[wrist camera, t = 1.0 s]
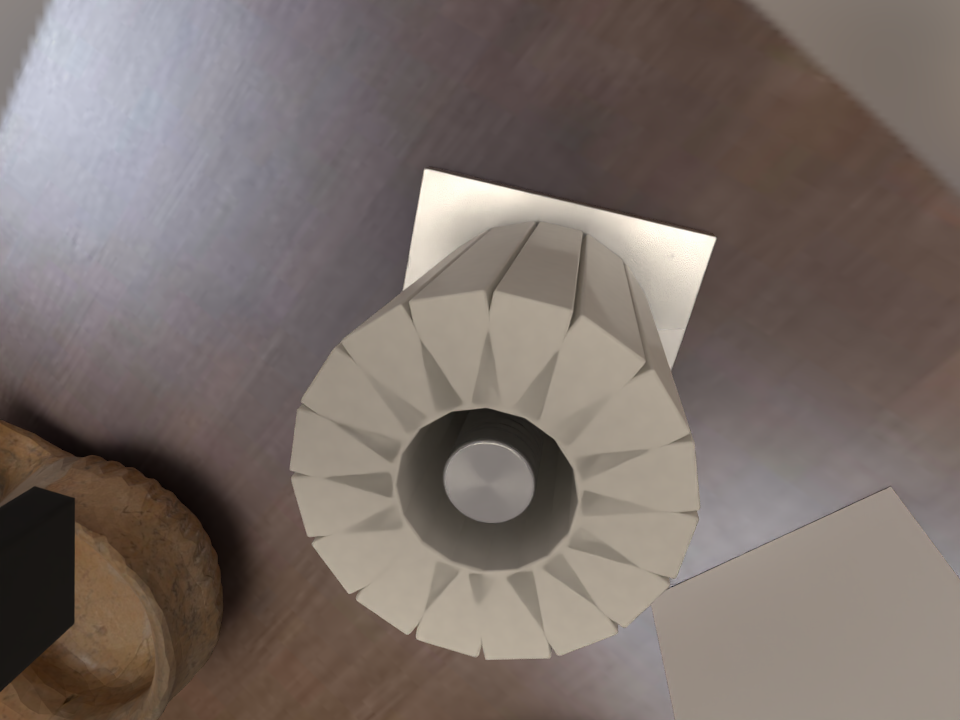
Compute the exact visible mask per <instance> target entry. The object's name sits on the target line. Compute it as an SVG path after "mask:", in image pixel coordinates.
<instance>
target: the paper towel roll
mask: <svg viewBox="0 0 960 720" xmlns="http://www.w3.org/2000/svg"><path fill="white" fill-rule="evenodd" d="M582 236H583V232H582V231H579V230H575V229H571V228H566V227H562V226H558V225H554V224H550V223H546V222H542V221H541V222H540V223H539V224H538V226H537V227H536V223H535V222H534V221H532V222H525V223H519V224H513V225H507V226H501V227H495V228H492V229H491V230H490V231H488V230H486V231H485V232H483V233H481V234H480V235H478V236H477V237H475V238H474V239H472V240H470V241H469V242H467V243H466V244H464V245H463V246H461V247H459V248H458V249H456V250H455V251H453V252H452V253H451V254H449V255H448V256H447V257H445V258H444V259H443V260H442V261H440V262H439V263H438V264H437V265H435V266H434V267H433V268H432V269H430V270H429V271H428V272H427V273H425V274H424V275H423V276H422V277H420V278H419V279H418V280H417V281H415V282H414V283H413V284H411V285H410V286H409V287H408V288H406V289H405V290H404V291H403V292H401V293H400V294H399V295H398V296H396V297H395V298H394V299H393V300H391V301H390V302H389V303H388V304H386V305H385V306H384V307H382V308H381V309H380V310H379V311H377V312H376V313H375V314H374V315H372V316H371V317H370V318H369V319H367V320H366V321H365V322H364V323H362V324H361V325H360V326H359V327H357V328H356V329H355V330H354V331H352V332H351V333H350V334H348V335H347V336H346V337H345V338H343V339H342V340H341V343H339V344H338V345H337V346H336V347H334V349H333V350H332V352H331V353H330V355H329V356H328V358H327V360H326V361H325V363H324V364H323V366H322V367H321V369H320V370H319V372H318V374H317V375H316V377H315V378H314V380H313V381H312V383H311V385H310V386H309V388H308V389H307V391H306V392H305V394H304V395H303V397H302V399H301V402H302V403H303V404H302V405H301V406H300V407H299V408H298V409H297V415H296V423H295V431H294V439H293V447H292V454H291V462H290V470H291V471H294V472H295V473H294V474H293V476H292V477H291V482H292V485H293V488H294V492H295V495H296V499H297V502H298V506H299V509H300V512H301V516H302V519H303V523H304V526H305V530H306V533H307V536H308V537H316V538H315V539H314V541H313V542H312V546H313V547H314V549H315V550H316V551H317V553H318V554H319V555H320V557H321V558H322V559H323V560H324V562H325V563H326V564H327V566H328V567H329V568H330V570H331V571H332V572H333V574H334V575H335V576H336V578H337V579H338V580H339V582H340V583H341V584H342V586H343V587H344V588H345V590H346V591H347V592H348V593H349V594H351V593H353V592H355V591H357V590H359V589H360V590H359V592H358V594H357V596H356V600H357V601H358V602H359V603H361V604H362V605H364V606H365V607H367V608H368V609H370V610H371V611H373V612H374V613H376V614H377V615H378V616H380V617H381V618H383V619H384V620H386V621H387V622H389V623H390V624H392V625H393V626H394V627H396V628H397V629H399V630H400V631H402V632H403V633H405V634H407V635H408V634H410V633H411V632H412V631H413V630H414V629H415V627H416V626H417V625H418V627H417V631H416V639H417V640H420V641H423V642H426V643H430V644H433V645H436V646H440V647H443V648H446V649H449V650H453V651H456V652H459V653H463V654H466V655H469V656H473V657H477V656H478V655H479V654H480V650H481V646H482V647H483V652H484V656H485V659H486V660H497V659H541V658H551V652H552V648H553V650H554V651H555V652H556V654H557V655H558V656H561V655H564V654H566V653H569V652H571V651H574V650H577V649H579V648H582V647H585V646H587V645H590V644H592V643H595V642H598V641H600V640H603V639H605V638H608V637H611V636H613V635H616V634H617V633H618V624H619V625H620V626H622V627H623V628H626V627H627V626H628V625H629V624H630V623H631V622H633V621H634V620H635V619H636V618H637V617H638V616H639V615H640V614H641V613H642V612H643V611H644V610H645V609H646V608H647V607H648V606H649V605H650V604H652V603H653V602H654V601H655V600H656V599H657V598H658V597H659V596H660V595H661V594H662V593H663V592H664V591H665V590H666V589H667V588H668V587H669V586H670V580H669V578H673V579H675V578H676V577H677V575H678V572H679V569H680V567H681V564H682V562H683V559H684V557H685V554H686V551H687V549H688V546H689V544H690V541H691V539H692V536H693V533H694V531H695V528H696V526H697V523H698V521H699V517H698V514H697V511H698V510H699V509H700V497H699V486H698V475H697V464H696V453H695V443H694V440H693V437H692V434H691V431H690V428H689V425H688V422H687V419H686V416H685V413H684V410H683V407H682V404H681V401H680V398H679V395H678V391H677V388H676V385H675V382H674V379H673V376H672V373H671V370H670V367H669V364H668V361H667V358H666V355H665V352H664V349H663V346H662V343H661V340H660V337H659V334H658V331H657V328H656V325H655V322H654V319H653V315H652V312H651V309H650V306H649V303H648V300H647V298H646V296H645V295H644V293H643V291H642V289H641V288H640V286H639V284H638V283H637V281H636V279H635V277H634V276H633V274H632V272H631V270H630V269H629V267H628V265H623V260H622V259H621V258H620V257H619V256H617V255H616V254H614V253H613V252H612V251H610V250H609V249H608V248H606V247H605V246H604V245H602V244H601V243H600V242H598V241H597V240H596V239H594V238H593V237H591V236H590V235H586V236H585V238H584V239H583V240H582ZM481 408H489V409H493V410H496V411H500V412H504V413H508V414H511V415H515V416H519V417H523V418H525V419H527V420H528V421H529V422H531V423H532V424H534V425H535V426H536V427H538V428H539V429H541V430H542V431H543V432H545V438H544V444H543V450H542V456H541V462H540V468H539V474H538V480H537V486H536V491H535V496H534V498H533V501H532V502H531V504H530V506H529V507H528V508H527V510H526V511H525V512H523V513H522V514H521V515H520V516H518V517H516V518H515V519H513V520H510V521H508V522H504V523H498V524H487V523H481V522H477V521H474V520H472V519H470V518H468V517H466V516H464V515H463V514H462V513H460V512H459V511H458V510H457V509H456V508H455V507H454V506H453V505H452V504H451V502H450V501H449V499H448V497H447V495H446V493H445V490H444V487H443V481H442V474H443V468H444V465H445V462H446V460H447V458H448V456H449V454H450V451H451V449H452V447H453V445H454V443H455V441H456V438H457V436H458V434H459V432H460V430H461V428H462V425H463V423H464V421H465V419H466V417H467V415H468V412H469V410H472V409H481Z"/></svg>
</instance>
